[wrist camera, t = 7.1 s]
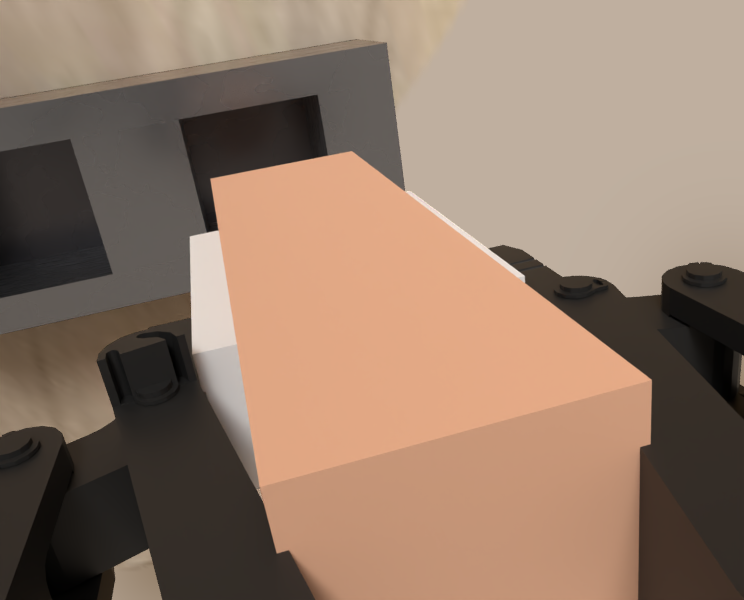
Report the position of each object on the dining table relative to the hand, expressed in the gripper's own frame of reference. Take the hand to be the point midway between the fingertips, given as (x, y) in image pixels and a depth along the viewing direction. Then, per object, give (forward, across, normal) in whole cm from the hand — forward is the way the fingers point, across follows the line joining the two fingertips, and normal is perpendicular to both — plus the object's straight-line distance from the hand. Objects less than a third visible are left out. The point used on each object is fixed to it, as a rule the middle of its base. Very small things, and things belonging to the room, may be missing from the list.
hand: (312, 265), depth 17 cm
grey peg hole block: (+15, -5, 0) cm, 16 cm away
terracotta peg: (+3, 0, 0) cm, 3 cm away
